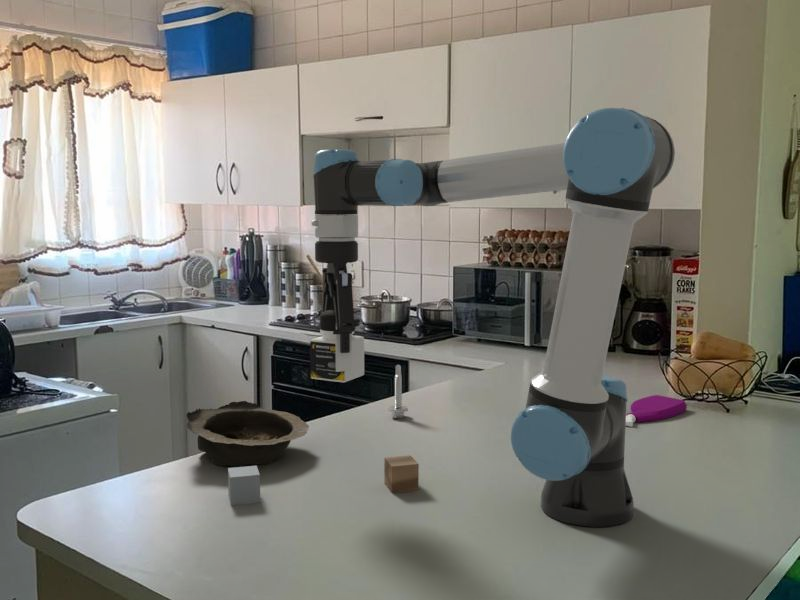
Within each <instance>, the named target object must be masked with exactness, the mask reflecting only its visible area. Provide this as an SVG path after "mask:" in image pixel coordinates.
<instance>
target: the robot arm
mask: <svg viewBox="0 0 800 600" xmlns="http://www.w3.org/2000/svg"><path fill="white" fill-rule="evenodd" d="M675 151H676V150H675V144H674V141H673V138H672V136H671V133H670V132H669V130H668V129H667V128H666V127H665V126H664V125H663V124H661V123H660V122H659V121H657V120H656V119H653V118H651V117H648V116H646V115H643V114H641V113H640V112H637V111H635V110H633V109H628V108H624V107H620V108H619V107H604V108H599V109H596V110H594V111H591V112H590V113H588V114H586V115H585V116H583V117H581V118H580V119H579V120H578V121H577V122H576V123H575V124H574V125H573V126H572V128H571V130H570V131H569V133H568V135H567V137H566V139H565V142H562V143H555V144H554V143H553V144H549V145H541V146H534V147H526V148H520V149H513V150H505V151H499V152H492V153H485V154H479V155H478V154H477V155H472V156H465V157H458V158H451V159H444V160H436V161H430V162H429V161H428V162H415V161H413V160H410V159H402V158H399V159H398V158H391V159H381V160H380V159H378V160H363V161H362V160H359V159H358V153H357V151H355V150H352V149H338V148H337V149H321V150H318V151H317V152H316V153H315V154H314V162H313V163H314V165H313V175H312V179H313V188H314V189H313V191H314V193H313V194H314V219H315V220H311V226H312V227H315V228H314V237H315V238H316V239H318V240H317V241H315V242H314V260H315V261H316V263H321V264H327V265H326V267H323V268H322V270H321V271H322V296H321V298H322V300H321V303H322V304H321V313H322V312H324V311H327V310H335V318H336V327H337V330H334V331H333V335H334V334H335V350H336V372H340V371H352V332H353V331H354V332H355V329H356V327H355V313H354V312H355V311H354V298H353V274H352V273H351V272H348V267H347V264H349V263H351V264H352V263H356V262H357V261H358V259H359V243H358V241H356V239H357V238H358V237H359V215H358V212H359V209H358V208H359V206H390V207H403V206H423V207H432V206H433V207H434V206H438V205H441V204H448V203H453V202H455V203H456V202H457V203H458V202H463V201H466V202H467V201H472V200H473V201H476V200H483V199H492V198H502V197H511V196H521V195H529V194H530V195H531V194H537V193H541V194H542V193H548V192H557V191H566V193H565V198H564V201H565V202H566V204H567V205H568V207H569V209H570V210H571V211H572V212H571V213H572V219H571V224H570V228H569V233H568V240H567V244H566V250H565V255H564V259H563V264H562V270H561V275H560V276H561V277H560V279H559V280H560V281H559V287H558V290H557V291H558V292H557V296H556V301H555V307H554V312H553V316H552V322H551V327H550V332H549V336H548V343H547V348H546V354H545V358H544V363H543V364H544V365H543V370H541V372H539V373H537V374H535V375H534V376H533V377H532V378H531V380H530V382H529V389H528V393H527V397H526V403H525V408H524V409H522V410H521V411H520V412H519V413H518V414H517V417H515V419H514V421H513V423H512V425H511V429H510V442H511V447H512V450H513V453H514V455H515V457H516V458H517V459H518V460H519V462H520V464H521V465H522V467H523V468H525V470H527V471H528V472H529V473H530V474H533V475H534V476H535V477H537V478H540V479H543V480H545V482H544V485H543V488H542V490H541V495H540V508H541V510H542V512H543V513H544V514H546V515H547V516H549V517H551V518H553V520H554V519H555V520H557V521H560V522H563V523H566V524H570V525H575V526H583V527H594V528H595V527H596V528H602V527H603V528H604V527H613V526H619V525H621V524H624V523H626V522H629V521H630V520H631V519H632V518H633V516H634V505H635V503H634V498H633V494H632V490H631V488H630V484H629V481H628V477H627V474H626V471H625V449H626V448H625V447H626V446H625V445H626V427H627V426H626V414H627V403H628V400H629V399H628V396H627V394H628V393H627V385H626V382H625V381H624V380H622V379H620V378H618V377H614V376H608V375H603V374H604V369H605V364H606V359H607V355H608V351H609V347H610V340H611V336H612V331H613V327H614V321H615V316H616V312H617V307H618V303H619V298H620V293H621V288H622V283H623V278H624V274H625V268H626V263H627V260H628V259H627V258H628V255H629V254H628V253H629V249H630V245H631V240H632V235H633V230H634V226H635V225H634V224H635V223H637V221H639V220H640V219H641V218H643V217H644V216H646V215H647V214H648V213H649V209H650V204H651V203H650V202H651V199H652V194H653V191H654V189H655V188H656V187H658V186H659V185H660V184H661V183H663V182H664V181H665V180H666V178H668V176H669V174H670V172H671V170H672V168H673V166H674V161H675V155H676V152H675ZM345 324H346V325H345Z"/></svg>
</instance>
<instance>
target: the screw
mask: <svg viewBox="0 0 800 600" xmlns="http://www.w3.org/2000/svg"><path fill="white" fill-rule="evenodd" d="M402 378H403V377H402V366H401V365H400V364H397V365H395V375H394V378H393V379H394V405H391V406H389V407H388V409H387V410H388V412H390V413H391V415H392V418H393V419H403V418H404V417H405V413H406V412H408V411H409V407H408V406H405V405H403V403H402V402H403V396H402V395H403V394H402V393H403V391H402V390H403V384H402V383H403V382H402V381H403V379H402Z"/></svg>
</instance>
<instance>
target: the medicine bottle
mask: <svg viewBox="0 0 800 600" xmlns="http://www.w3.org/2000/svg"><path fill="white" fill-rule="evenodd" d="M319 325H320V326H319V327H320V328H319V330H320V331H319V333H320V335H321V336H319V337H314V338H312V339H310V341H309V343H310V347H309V348H310V352H309V353H310V354H309V355H310V356H309V357H310V359H309V360H310V379H313V380H321V381H326V382H327V381H328V382H337V383H347V382H349V381H352V380H354V379H357V378H360V377H362V376H364V375H365V337H364V336H363V335H362V336H361V335H353V334H355V331H353V332H352V371H340V372H336V350H335V334H334V335H333V331H334V330H337V327H336V318H335V310H327V311H324V312H322V311H321V313H320V314H319ZM345 325H346V324H345Z"/></svg>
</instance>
